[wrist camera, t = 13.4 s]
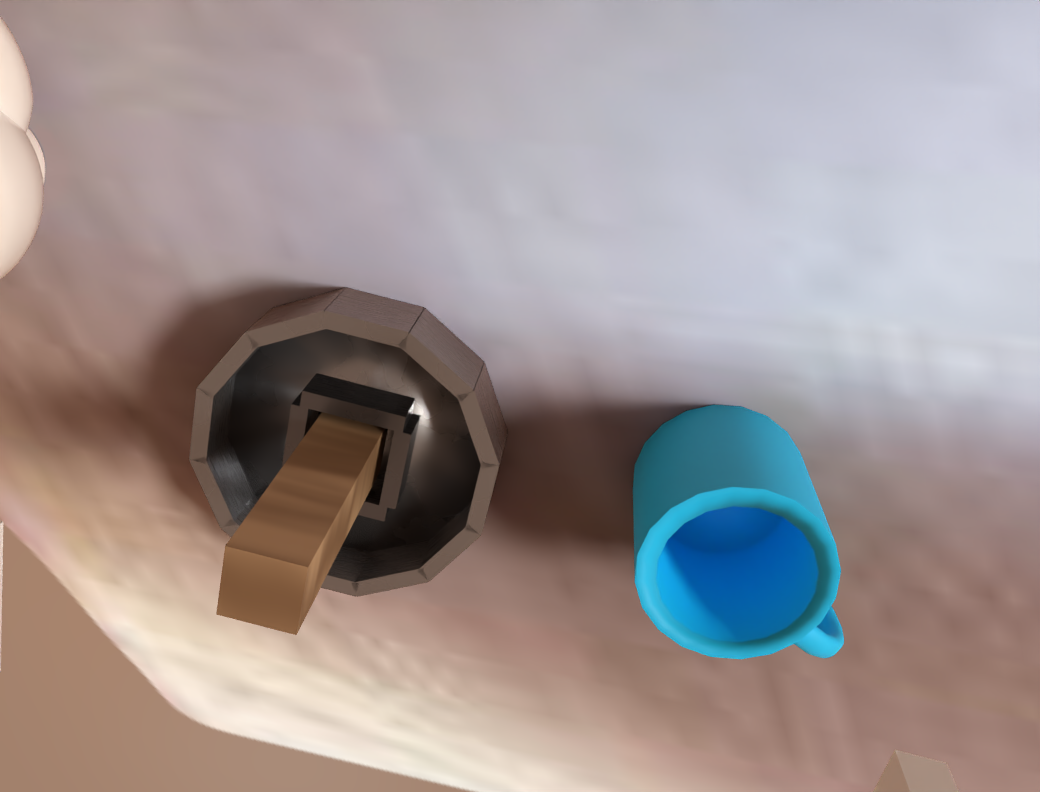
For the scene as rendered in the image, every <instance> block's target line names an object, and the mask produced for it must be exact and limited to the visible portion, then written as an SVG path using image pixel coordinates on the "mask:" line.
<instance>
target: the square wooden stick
mask: <svg viewBox="0 0 1040 792" xmlns="http://www.w3.org/2000/svg"><path fill="white" fill-rule="evenodd" d="M387 432H388V429H386V428H382V427H378V426H374V425H370V424H366V423H363V422H359V421H355V420H351V419H347V418H343V417H339V416H335V415H331V414H327V413H324V412H322V413H321V414H320V416H319V417H318V418H317V420H316V421H315V422H314V424H313V425H312V427H311V428H310V429H309V431H308V432H307V434H306V435H305V436H304V438H303V439H302V441H301V442H300V443H299V445H298V446H297V447H296V449H295V450H294V452H293V453H292V454H291V456H290V457H289V459H288V460H287V461H286V463H285V464H284V465H283V467H282V468H281V470H280V471H279V472H278V474H277V475H276V477H275V478H274V479H273V481H272V482H271V483H270V485H269V486H268V488H267V489H266V490H265V492H264V493H263V495H262V496H261V497H260V499H259V500H258V501H257V503H256V504H255V506H254V507H253V508H252V510H251V511H250V513H249V514H248V515H247V517H246V518H245V519H244V521H243V522H242V524H241V525H240V526H239V528H238V529H237V531H236V532H235V533H234V535H233V536H232V537H231V539H230V540H229V542H228V543H227V544H226V546H225V553H224V560H223V568H222V575H221V583H220V591H219V598H218V606H217V615H221V616H225V617H229V618H233V619H237V620H240V621H244V622H248V623H252V624H256V625H260V626H264V627H268V628H271V629H275V630H279V631H283V632H287V633H291V634H295V635H297V633H298V631H299V629H300V627H301V625H302V623H303V621H304V619H305V617H306V615H307V613H308V611H309V609H310V607H311V605H312V603H313V601H314V599H315V597H316V595H317V593H318V592H319V590H320V588H321V586H322V584H323V582H324V580H325V578H326V576H327V574H328V572H329V570H330V568H331V566H332V564H333V562H334V560H335V558H336V556H337V554H338V552H339V550H340V548H341V546H342V544H343V543H344V541H345V539H346V537H347V535H348V533H349V531H350V529H351V527H352V525H353V523H354V521H355V519H356V517H357V515H358V513H359V511H360V509H361V507H362V505H363V503H364V501H365V499H366V497H367V496H368V494H369V492H370V490H371V488H372V486H373V484H374V482H375V480H376V478H377V476H378V474H379V472H380V467H381V462H382V457H383V452H384V447H385V442H386V437H387Z"/></svg>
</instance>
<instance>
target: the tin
mask: <svg viewBox="0 0 1040 792" xmlns="http://www.w3.org/2000/svg"><path fill="white" fill-rule="evenodd" d="M322 412H324V413H327V414H331V415H335V416H339V417H343V418H347V419H351V420H355V421H359V422H363V423H366V424H370V425H374V426H378V427H382V428H386V429H388V432H387V437H386V442H385V447H384V452H383V457H382V462H381V467H380V472H379V474H378V476H377V478H376V480H375V482H374V484H373V486H372V488H371V490H370V492H369V494H368V496H367V497H366V499H365V501H364V503H363V505H362V507H361V509H360V511H359V513H358V515H357V517H356V519H355V521H354V523H353V525H352V527H351V529H350V531H349V533H348V535H347V537H346V539H345V541H344V543H343V544H342V546H341V548H340V550H339V552H338V554H337V556H336V558H335V560H334V562H333V564H332V566H331V568H330V570H329V572H328V574H327V576H326V578H325V580H324V582H323V584H322V586H321V588H324V589H328V590H332V591H336V592H340V593H344V594H348V595H352V596H357V597H358V596H363V595H368V594H373V593H378V592H382V591H387V590H392V589H397V588H402V587H407V586H412V585H417V584H421V583H426V582H429V581H431V580H432V579H433V578H434V577H435V576H436V575H437V574H438V573H440V572H441V571H442V570H443V569H444V568H445V567H446V566H447V565H449V564H450V563H451V562H452V561H453V560H454V559H455V558H456V557H457V556H459V555H460V554H461V553H462V552H463V551H464V550H465V549H466V548H468V547H469V546H470V545H471V544H472V543H473V542H474V541H475V540H476V539H478V538H479V537H480V536H481V535H482V531H483V527H484V524H485V520H486V516H487V512H488V508H489V504H490V501H491V497H492V493H493V489H494V485H495V481H496V477H497V473H498V469H499V465H500V461H501V458H502V454H503V450H504V446H505V442H506V438H507V434H508V432H507V429H506V426H505V423H504V419H503V416H502V413H501V410H500V407H499V404H498V401H497V398H496V395H495V392H494V389H493V386H492V383H491V380H490V377H489V374H488V371H487V368H486V365H485V363H484V361H483V360H482V359H481V358H480V357H478V356H477V355H476V354H475V353H474V352H473V351H472V350H471V349H470V348H469V347H467V346H466V345H465V344H464V343H463V342H462V341H461V340H460V339H459V338H458V337H456V336H455V335H454V334H453V333H452V332H451V331H450V330H449V329H448V328H447V327H445V326H444V325H443V324H442V323H441V322H440V321H439V320H438V319H437V318H436V317H434V316H433V315H432V314H431V313H430V312H429V311H428V310H427V309H426V308H425V309H424V307H420V306H416V305H412V304H408V303H404V302H401V301H397V300H393V299H389V298H385V297H381V296H377V295H373V294H369V293H365V292H362V291H358V290H354V289H350V288H342V289H339V290H335V291H331V292H328V293H324V294H320V295H317V296H313V297H310V298H306V299H302V300H299V301H295V302H291V303H288V304H284V305H280V306H277V307H273V308H272V309H271V310H269V311H268V312H267V313H266V314H265V315H264V316H263V317H262V318H260V319H259V320H258V321H257V322H256V323H255V324H254V325H253V326H251V327H250V328H249V329H248V330H247V331H246V332H245V333H244V334H243V335H242V336H241V337H240V339H239V340H238V341H237V342H236V343H235V344H234V345H233V347H232V348H231V349H230V350H229V351H228V352H227V353H226V355H225V356H224V357H223V358H222V359H221V360H220V362H219V363H218V364H217V365H216V366H215V367H214V368H213V370H212V371H211V372H210V373H209V374H208V375H207V376H206V378H205V379H204V380H203V381H202V382H201V383H200V384H199V386H198V387H197V389H196V398H195V408H194V417H193V426H192V436H191V445H190V455H189V461H190V463H191V466H192V468H193V470H194V472H195V474H196V476H197V478H198V481H199V483H200V485H201V487H202V489H203V491H204V494H205V496H206V498H207V500H208V502H209V504H210V506H211V509H212V511H213V513H214V515H215V517H216V519H217V521H218V524H219V526H220V528H222V530H223V531H224V532H226V533H227V534H228V535H229V536H231V537H232V536H233V535H234V533H235V532H236V531H237V529H238V528H239V526H240V525H241V524H242V522H243V521H244V519H245V518H246V517H247V515H248V514H249V513H250V511H251V510H252V508H253V507H254V506H255V504H256V503H257V501H258V500H259V499H260V497H261V496H262V495H263V493H264V492H265V490H266V489H267V488H268V486H269V485H270V483H271V482H272V481H273V479H274V478H275V477H276V475H277V474H278V472H279V471H280V470H281V468H282V467H283V465H284V464H285V463H286V461H287V460H288V459H289V457H290V456H291V454H292V453H293V452H294V450H295V449H296V447H297V446H298V445H299V443H300V442H301V441H302V439H303V438H304V436H305V435H306V434H307V432H308V431H309V429H310V428H311V427H312V425H313V424H314V422H315V421H316V420H317V418H318V417H319V416H320V414H321V413H322Z"/></svg>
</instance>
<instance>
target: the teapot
mask: <svg viewBox="0 0 1040 792" xmlns="http://www.w3.org/2000/svg"><path fill="white" fill-rule="evenodd" d="M32 109H33V93H32V86H31V81H30V76H29V72H28V69H27V66H26V63H25V60H24V58H23V55H22V53H21V50H20V48H19V46H18V44H17V42H16V40H15V38H14V36H13V35H12V33H11V31H10V29H9V28H8V26H7V25H6V23H5V22H4V20H3V19H2V17H1V16H0V279H2V278H3V277H4V276H5V275H7V274H8V273H9V272H10V271H11V270H12V269H13V268H14V267H15V266H16V265H17V264H18V262H19V261H20V260H21V259H22V257H23V256H24V255H25V253H26V252H27V250H28V248H29V247H30V245H31V243H32V241H33V239H34V237H35V235H36V232H37V229H38V227H39V224H40V220H41V216H42V211H43V203H44V181H45V161H44V156H43V153H42V150H41V148H40V145H39V143H38V141H37V139H36V138H35V136H34V135H33V133H32V132H31V131H30V129H29V128H28V126H29V123H30V119H31V115H32Z"/></svg>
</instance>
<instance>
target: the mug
mask: <svg viewBox="0 0 1040 792" xmlns="http://www.w3.org/2000/svg"><path fill="white" fill-rule="evenodd" d="M633 517H634V566H635V584H636V588H637V591H638V595H639V598H640V602H641V605H642V608H643V609H644V611H645V612H646V613H647V615H648V616H649V617H650V619H651V620H652V622H653V623H654V624H655V626H656V627H657V628H658V630H660V631H661V632H662V633H664V634H665V635H666V636H668V637H669V638H671V639H672V640H673V641H675V642H676V643H678V644H679V645H680V646H682V647H684V648H687V649H690V650H693V651H696V652H698V653H701V654H704V655H707V656H710V657H720V658H732V659H745V658H751V657H757V656H763V655H769V654H773V653H775V652H777V651H779V650H781V649H783V648H786V647H788V646H790V645H792V644H795V645H796V646H798V647H799V648H801V649H802V650H803V651H805V652H806V653H808V654H810V655H813V656H817V657H820V658H829V657H831V656H833V655H834V654H836V653H837V652H838V651H839V649H840V648H841V647H842V646H843V643H844V637H843V631H842V627H841V625H840V622H839V620H838V618H837V616H836V614H835V611H834V610H833V608H832V606H831V605H832V604H833V602H834V600H835V599H836V595H837V590H838V584H839V579H840V573H841V568H840V563H839V558H838V553H837V548H836V543H835V541H834V538H833V536H832V533H831V531H830V528H829V525H828V523H827V520H826V518H825V515H824V513H823V510H822V507H821V505H820V502H819V500H818V497H817V494H816V492H815V489H814V487H813V484H812V482H811V479H810V476H809V474H808V471H807V469H806V466H805V464H804V461H803V458H802V456H801V453H800V452H799V450H798V448H797V447H796V445H795V444H794V442H793V441H792V439H791V437H790V436H789V434H788V433H787V432H786V431H785V430H784V429H783V428H781V427H780V426H779V425H778V424H776V423H775V422H774V421H773V420H771V419H770V418H769V417H767V416H766V415H763V414H760V413H757V412H755V411H752V410H749V409H747V408H744V407H741V406H726V405H710V406H706V407H701V408H697V409H692V410H688V411H685V412H683V413H681V414H680V415H678V416H676V417H674V418H673V419H671V420H669V421H667V422H665V423H664V424H662V425H661V426H660V427H659V428H658V429H657V431H656V432H655V433H654V434H653V435H652V436H651V437H650V438H649V439H648V440H647V441H646V442H645V444H644V446H643V448H642V450H641V453H640V455H639V457H638V459H637V461H636V463H635V469H634V481H633Z"/></svg>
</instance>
